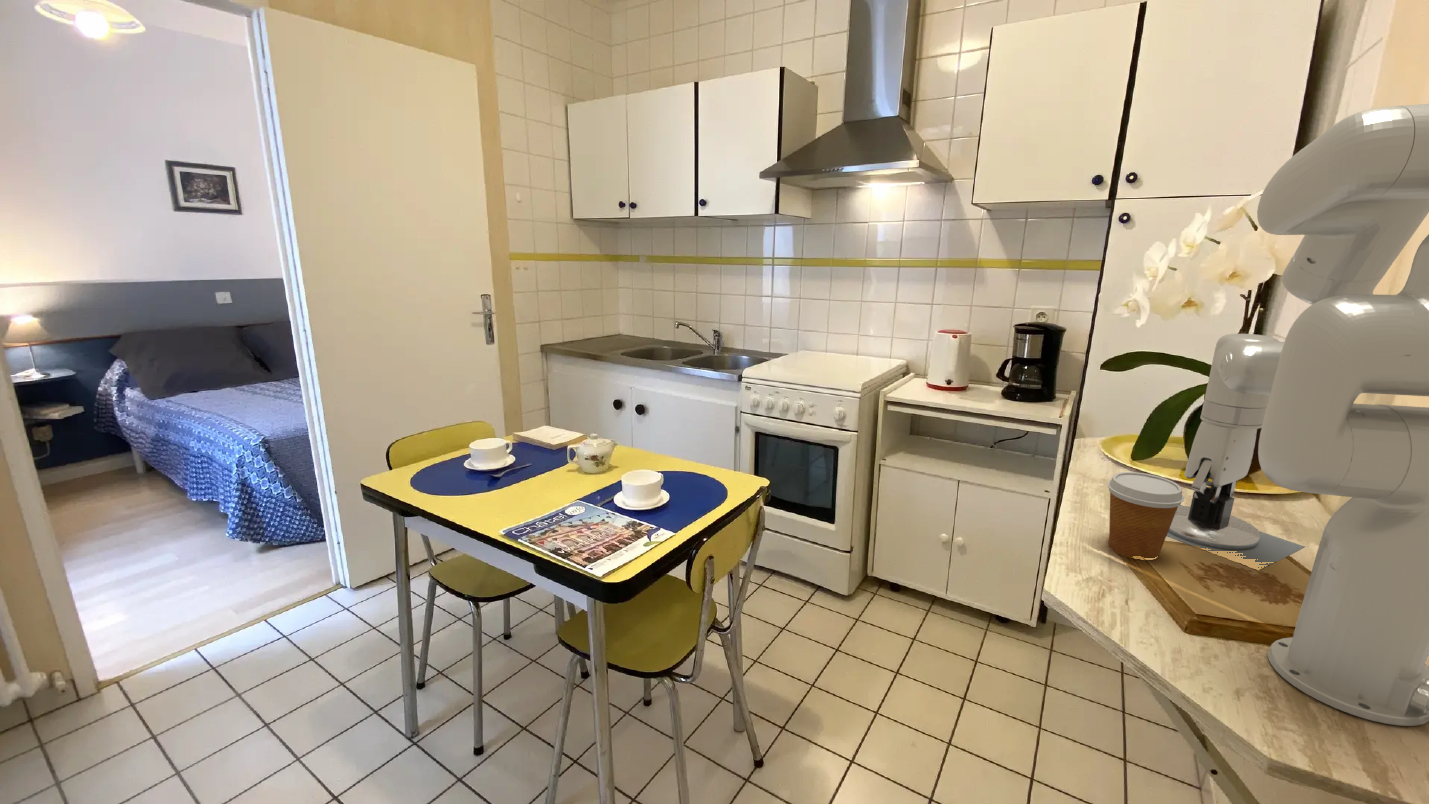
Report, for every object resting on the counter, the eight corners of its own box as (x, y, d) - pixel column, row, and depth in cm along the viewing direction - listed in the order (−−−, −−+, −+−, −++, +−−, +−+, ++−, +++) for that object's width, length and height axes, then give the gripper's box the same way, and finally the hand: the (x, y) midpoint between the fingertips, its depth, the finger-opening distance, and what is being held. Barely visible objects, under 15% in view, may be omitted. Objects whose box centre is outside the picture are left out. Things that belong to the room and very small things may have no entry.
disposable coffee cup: (1099, 560, 91) (1112, 488, 87) (1094, 533, 99) (1106, 467, 95) (1176, 575, 86) (1192, 500, 83) (1164, 546, 94) (1178, 477, 91)
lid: (1274, 538, 95) (1283, 501, 93) (1233, 558, 89) (1242, 519, 88) (1182, 507, 106) (1189, 474, 105) (1141, 523, 101) (1147, 488, 99)
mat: (1304, 550, 93) (1305, 546, 92) (1257, 574, 86) (1258, 570, 86) (1163, 502, 110) (1164, 499, 110) (1115, 519, 103) (1116, 516, 103)
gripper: (1230, 401, 99) (1207, 501, 104) (1177, 414, 92) (1155, 521, 97) (1287, 411, 93) (1260, 518, 98) (1235, 427, 86) (1208, 541, 91)
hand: (1208, 518), depth 97 cm, fingers open, 3 cm apart
